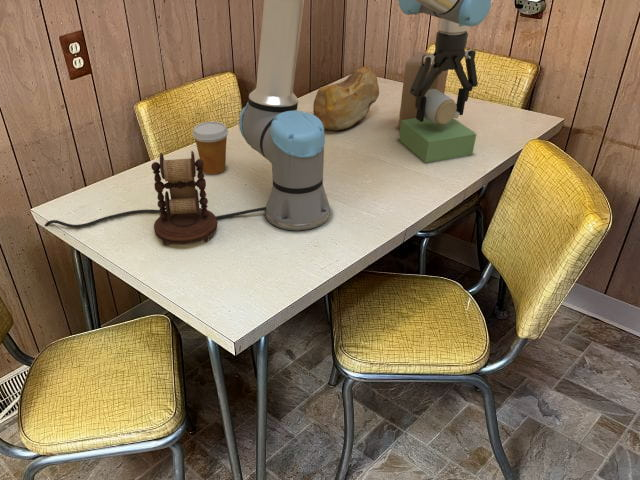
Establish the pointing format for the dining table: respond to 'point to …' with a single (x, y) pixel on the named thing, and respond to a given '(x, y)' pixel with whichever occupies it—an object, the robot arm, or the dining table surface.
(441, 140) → the green block
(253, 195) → the dining table surface
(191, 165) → the wooden thread spool stand
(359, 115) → the rough brown rock
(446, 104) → the ceramic mug
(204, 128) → the disposable coffee cup
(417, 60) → the wooden block
